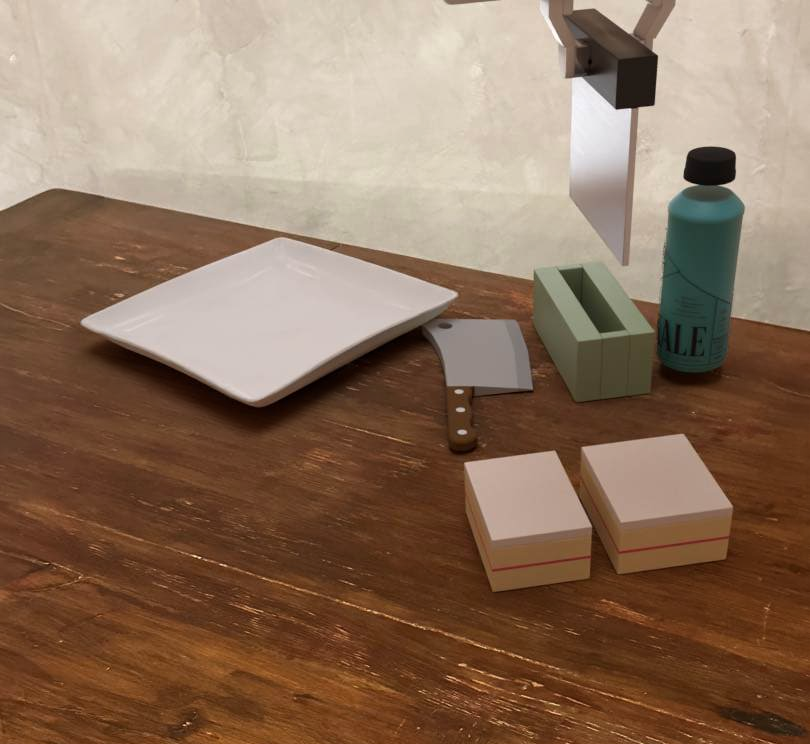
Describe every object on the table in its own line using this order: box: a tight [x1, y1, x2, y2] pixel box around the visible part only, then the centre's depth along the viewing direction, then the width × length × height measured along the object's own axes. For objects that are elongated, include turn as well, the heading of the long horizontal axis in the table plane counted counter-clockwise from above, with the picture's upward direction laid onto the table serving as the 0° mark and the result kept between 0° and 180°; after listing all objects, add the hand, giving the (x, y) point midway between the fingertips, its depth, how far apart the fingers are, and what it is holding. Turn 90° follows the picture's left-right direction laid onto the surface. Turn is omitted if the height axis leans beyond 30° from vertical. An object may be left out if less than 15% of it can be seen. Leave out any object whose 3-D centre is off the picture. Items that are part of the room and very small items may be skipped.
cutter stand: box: [532, 260, 656, 403], centre depth 104 cm, size 7×16×6 cm, turn 8°
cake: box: [578, 433, 734, 575], centre depth 83 cm, size 8×10×5 cm
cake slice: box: [463, 450, 593, 593], centre depth 82 cm, size 7×10×5 cm
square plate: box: [80, 236, 459, 408], centre depth 112 cm, size 27×27×4 cm
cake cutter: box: [563, 7, 659, 267], centre depth 67 cm, size 2×12×12 cm, turn 8°
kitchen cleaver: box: [421, 318, 534, 452], centre depth 103 cm, size 24×1×10 cm
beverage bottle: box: [654, 145, 746, 373], centre depth 96 cm, size 6×7×20 cm
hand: (604, 72), depth 65 cm, fingers closed on cake cutter, 2 cm apart
